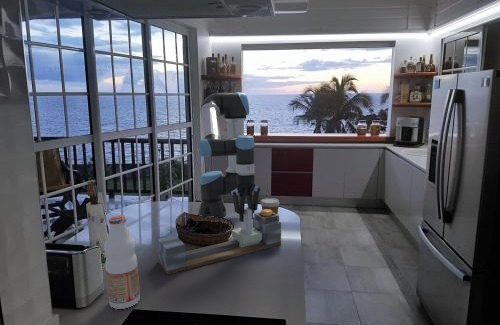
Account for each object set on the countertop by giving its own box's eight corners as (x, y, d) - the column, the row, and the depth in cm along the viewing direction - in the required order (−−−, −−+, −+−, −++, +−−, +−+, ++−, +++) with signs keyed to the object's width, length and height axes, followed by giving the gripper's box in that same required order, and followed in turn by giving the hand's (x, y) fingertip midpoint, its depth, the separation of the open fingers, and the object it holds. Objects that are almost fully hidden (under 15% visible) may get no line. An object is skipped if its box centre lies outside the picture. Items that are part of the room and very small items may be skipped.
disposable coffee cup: (279, 220, 185) (279, 197, 183) (279, 227, 176) (279, 203, 174) (261, 219, 186) (261, 197, 184) (260, 226, 177) (259, 203, 175)
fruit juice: (112, 314, 108) (103, 225, 103) (106, 299, 116) (98, 216, 111) (144, 304, 113) (137, 219, 108) (136, 290, 121) (129, 211, 116)
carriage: (232, 240, 156) (231, 207, 153) (250, 236, 161) (249, 203, 158) (243, 249, 148) (242, 213, 145) (262, 244, 152) (261, 209, 149)
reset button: (258, 215, 158) (258, 210, 158) (268, 213, 160) (268, 208, 160) (264, 218, 154) (264, 213, 153) (274, 216, 156) (274, 211, 156)
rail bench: (158, 261, 142) (156, 231, 139) (266, 235, 166) (266, 209, 164) (167, 274, 132) (165, 242, 129) (281, 244, 156) (281, 216, 154)
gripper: (233, 177, 141) (234, 234, 146) (265, 172, 149) (266, 227, 153) (224, 174, 148) (226, 228, 152) (256, 169, 155) (257, 221, 160)
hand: (246, 227), depth 153 cm, fingers closed on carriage, 2 cm apart
